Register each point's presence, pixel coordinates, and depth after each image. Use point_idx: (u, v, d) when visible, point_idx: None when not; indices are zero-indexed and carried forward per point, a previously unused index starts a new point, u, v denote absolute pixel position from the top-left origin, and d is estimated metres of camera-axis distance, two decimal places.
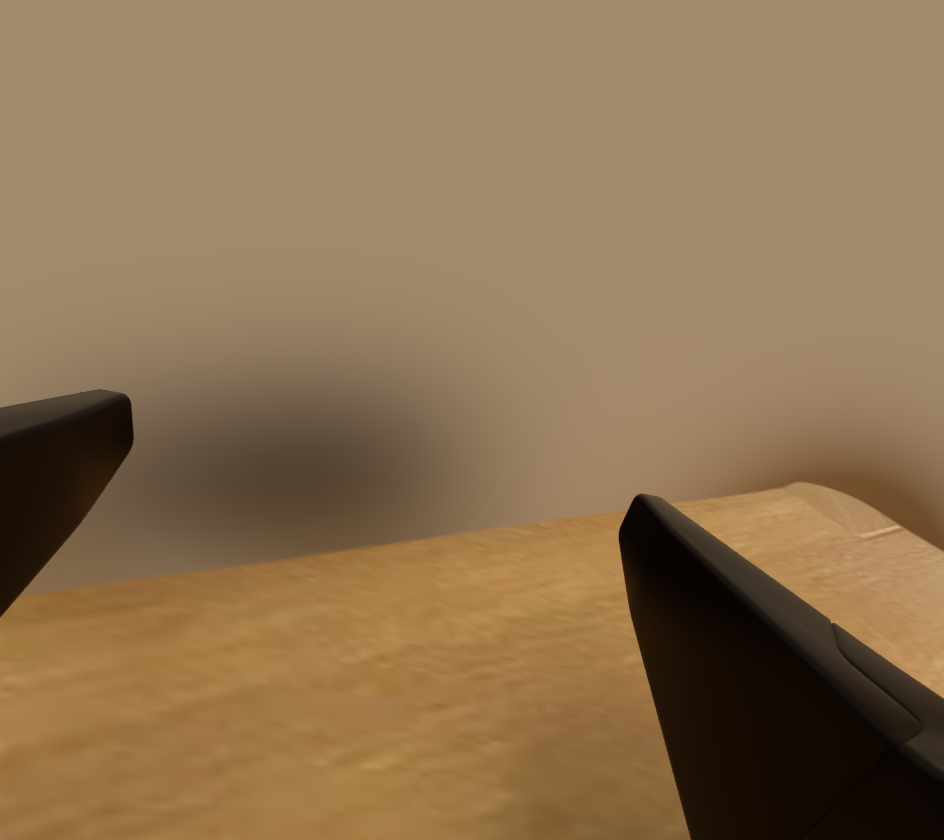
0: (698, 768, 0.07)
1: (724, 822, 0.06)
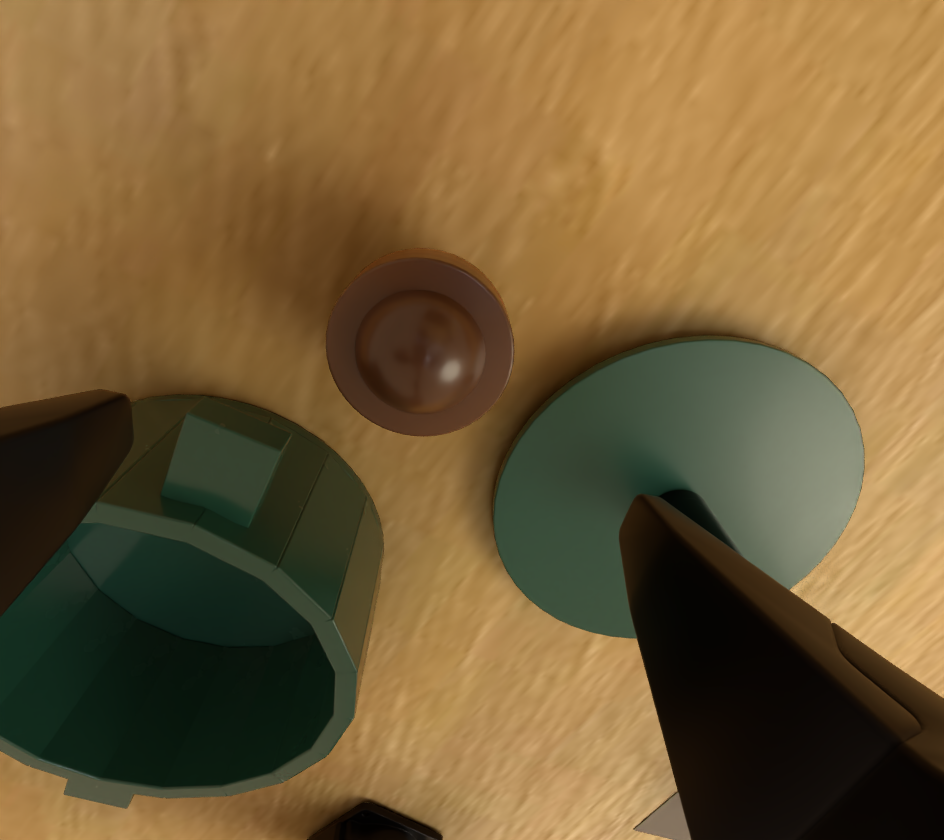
0: (698, 768, 0.07)
1: (724, 822, 0.06)
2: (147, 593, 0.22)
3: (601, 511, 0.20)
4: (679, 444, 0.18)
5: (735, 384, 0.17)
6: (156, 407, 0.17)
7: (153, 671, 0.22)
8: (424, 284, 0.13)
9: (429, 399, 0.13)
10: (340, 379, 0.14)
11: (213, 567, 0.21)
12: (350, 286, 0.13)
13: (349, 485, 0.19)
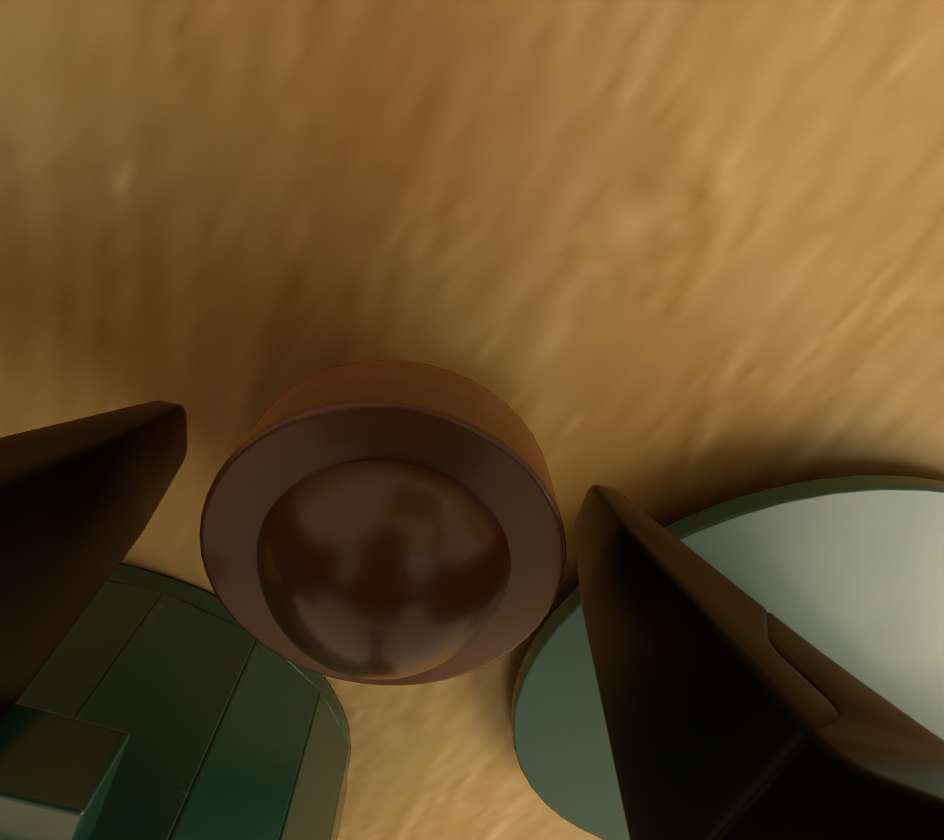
0: (635, 760, 0.07)
1: (657, 814, 0.06)
2: None
3: None
4: (810, 632, 0.12)
5: (914, 551, 0.11)
6: None
7: None
8: (388, 451, 0.06)
9: (400, 673, 0.07)
10: (235, 606, 0.08)
11: None
12: (237, 455, 0.06)
13: (290, 686, 0.12)
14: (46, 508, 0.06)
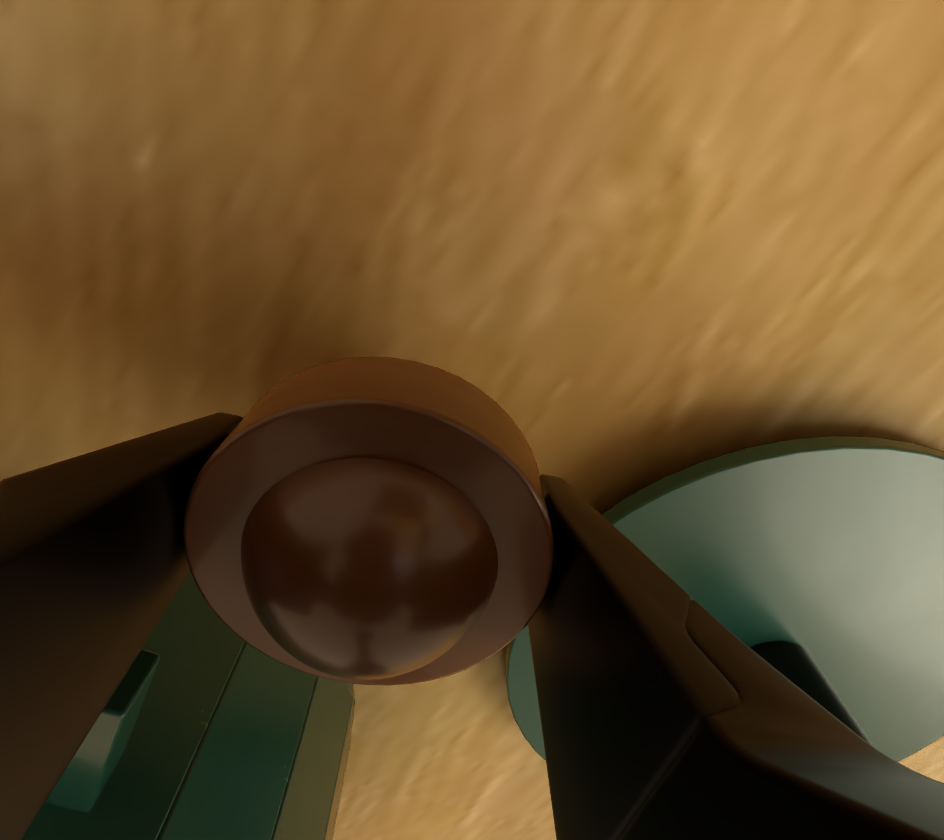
0: (562, 752, 0.07)
1: (577, 806, 0.06)
2: None
3: None
4: (783, 586, 0.12)
5: (878, 508, 0.11)
6: None
7: None
8: (373, 448, 0.06)
9: (385, 674, 0.07)
10: (220, 604, 0.07)
11: None
12: (220, 452, 0.06)
13: None
14: (136, 523, 0.06)
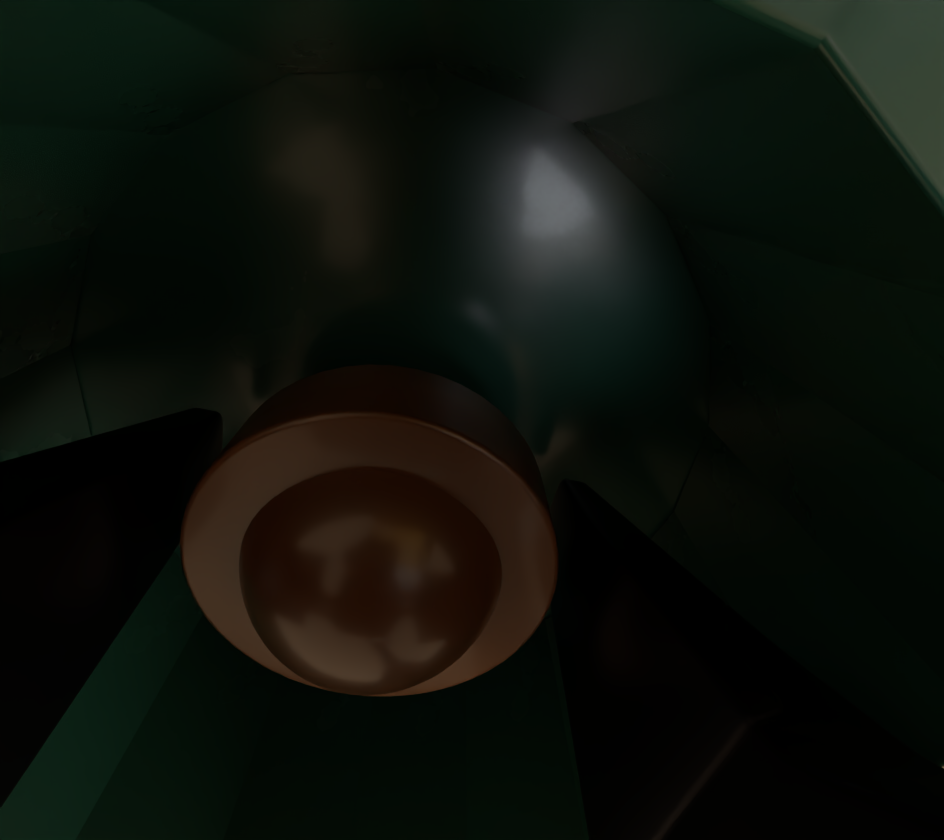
0: (594, 755, 0.07)
1: (613, 810, 0.06)
2: None
3: None
4: None
5: None
6: None
7: (258, 691, 0.11)
8: (375, 461, 0.06)
9: (387, 690, 0.07)
10: (218, 617, 0.07)
11: None
12: (217, 465, 0.06)
13: None
14: (100, 517, 0.06)
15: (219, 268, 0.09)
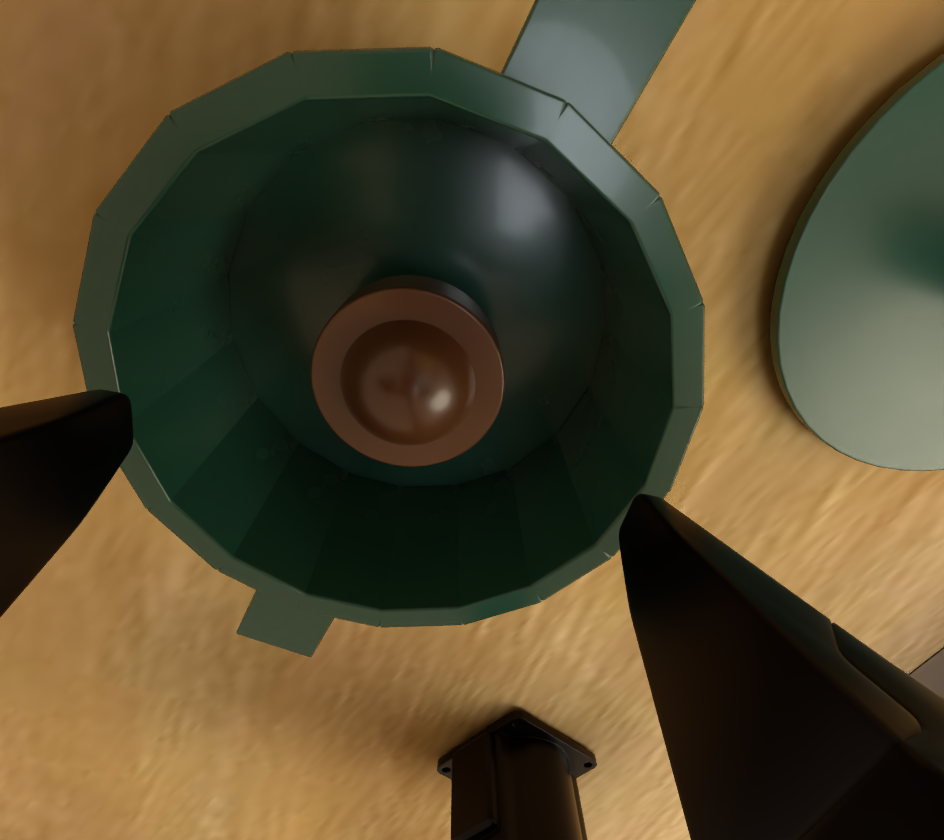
0: (697, 768, 0.07)
1: (724, 822, 0.06)
2: None
3: (925, 270, 0.15)
4: None
5: None
6: None
7: (329, 497, 0.17)
8: (412, 314, 0.13)
9: (417, 432, 0.13)
10: (326, 409, 0.14)
11: None
12: (335, 316, 0.13)
13: None
14: None
15: (318, 228, 0.15)
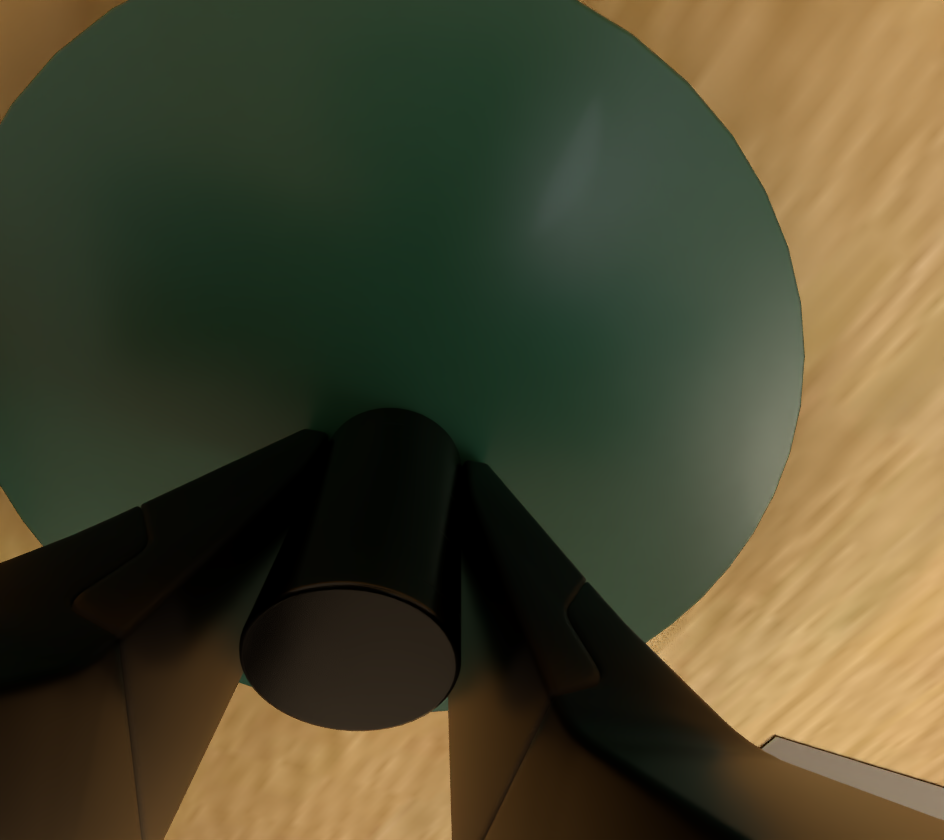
0: (460, 738, 0.06)
1: (466, 793, 0.06)
2: None
3: (227, 460, 0.09)
4: (351, 289, 0.08)
5: (445, 104, 0.07)
6: None
7: None
8: None
9: None
10: None
11: None
12: None
13: None
14: (257, 543, 0.06)
15: None
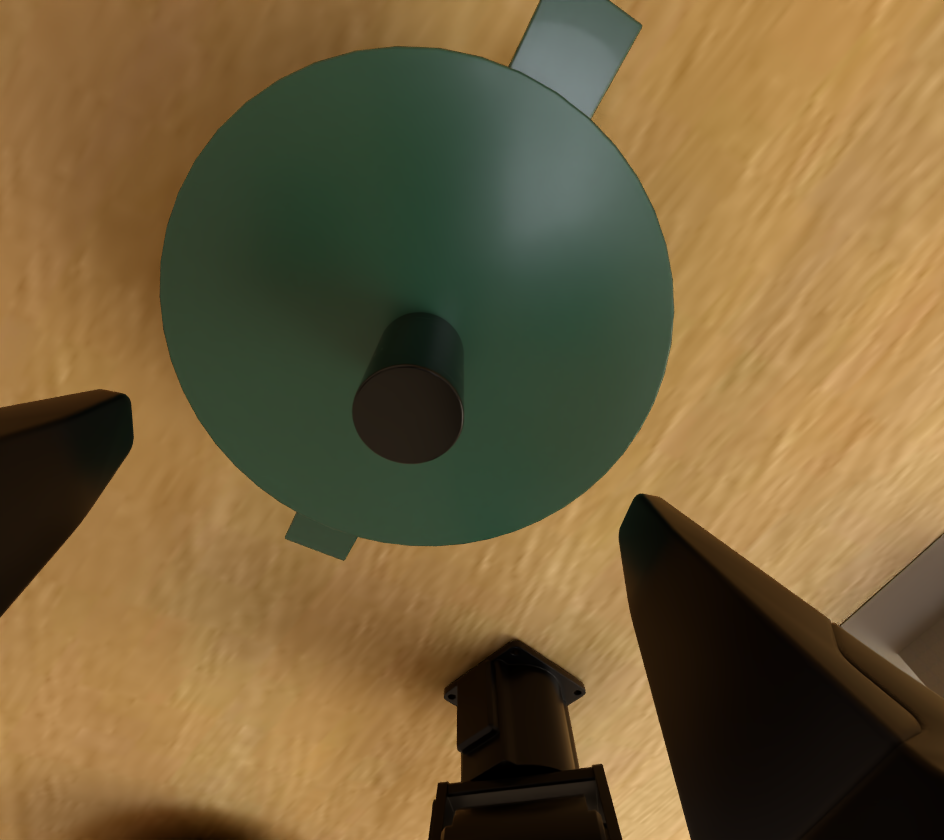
0: (698, 768, 0.07)
1: (724, 822, 0.06)
2: None
3: (317, 348, 0.14)
4: (399, 236, 0.13)
5: (455, 129, 0.12)
6: None
7: None
8: None
9: None
10: None
11: None
12: None
13: None
14: None
15: None
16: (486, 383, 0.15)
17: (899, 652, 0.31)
